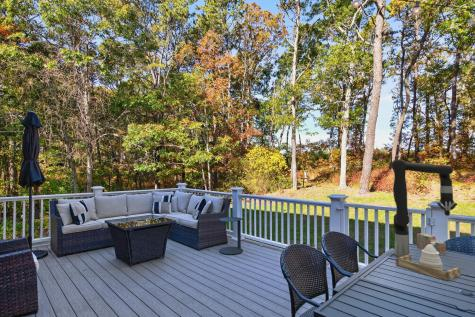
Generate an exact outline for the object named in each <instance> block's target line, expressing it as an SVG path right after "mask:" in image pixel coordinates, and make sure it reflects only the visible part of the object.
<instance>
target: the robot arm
mask: <svg viewBox="0 0 475 317" xmlns="http://www.w3.org/2000/svg"><path fill="white" fill-rule="evenodd" d="M390 167H391V169H392V170H393V174H394V179H393V184H392V191H393V192H392V193H393V200H394V203H395V206H396V213H395V214H394V216H393V229H394V240H395V241H394V255H395V257H396V258H399V257H402V256H406V255H410V233H409V230H408V229H409V228H408V225H409V223H410V215H409V210H408V190H407V188H408V187H407V180H406V171H409V172H410V171H411V172H412V171H413V172H418V173H425V174H436V175H437V174H438V175H439V184H440V185H439V186H440V188H439V194H440V195H439V196H440V198H439V201H438V202H436V205H437V206H438V207H439V208H440V209H441V210H443V211H444V215H445V216H446V217H447V216H448V217H449V216H450V215H451V211H453V210H454V209H455V208H456V207H457V206H458V203H456V202H455V200H454V189H453V181H452V179H451V176H450V175H452V174H453V172H454V168H453V167H452V166H450V165H446V164H445V165H444V164H434V163H426V162H425V163H424V162H423V163H421V162H408V161H405V160H403V159H400V158H399V159H394V160H392V161H391V163H390Z"/></svg>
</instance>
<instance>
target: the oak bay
mask: <svg viewBox="0 0 475 317" xmlns="http://www.w3.org/2000/svg"><path fill="white" fill-rule="evenodd" d="M395 262H396V266H397V267H399V268H403V269H407V270H410V271H413V272H416V273H421V274H423V275H427V276H430V277H432V278H436V279H440V280H443V281H446V282H449V281H451V280H454V279H456V278H458V277H461V267H458V266H457V267H454V268H451V269H449V270H444V269H443V270H439V269H435V268H432V267H428V266H425V265H421V264H419V263H417V262H413V261H412V254H409V255H406V256H402V257H395Z"/></svg>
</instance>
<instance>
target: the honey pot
mask: <svg viewBox="0 0 475 317" xmlns="http://www.w3.org/2000/svg"><path fill="white" fill-rule="evenodd" d="M433 245H435V242H431V244H428V245H427V246H426V247H425V248H424V250H423V249H421V255H420V257H419V260H418V262H419V263H418V264H421V265H425V266H428V267H432V268H435V269H439V270H443V271H444V269H443V268H444V266H443V262H442V260H441V257H440V255H439V254H440V253H439V252H438V251H436V249H435V248H434V246H433Z"/></svg>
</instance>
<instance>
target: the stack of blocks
mask: <svg viewBox="0 0 475 317" xmlns="http://www.w3.org/2000/svg"><path fill="white" fill-rule="evenodd" d="M416 242H417V244H416V245H417V249H421V250H424V248H425V247H426V246H427V245H428V244H431V242H435V245H433V246H434V248H435V249H436V251H438V252H439V253H440V255H439V256H442V255H441V254H446V255H447V243H446V242H443V241H440V240H437V238H436V236H435V235H432V234H427V233H422V232H420V233H416Z"/></svg>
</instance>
